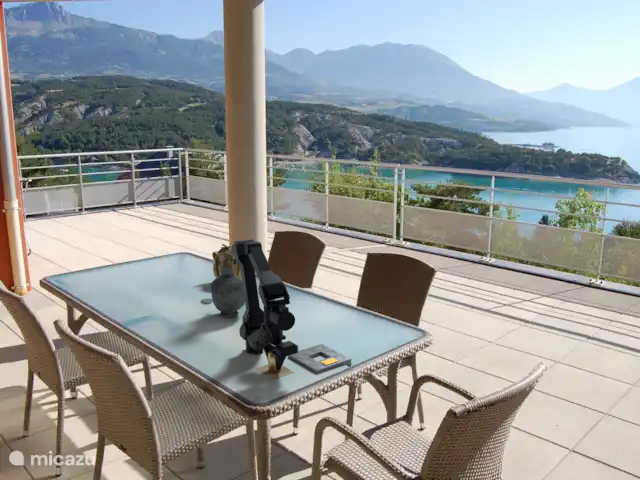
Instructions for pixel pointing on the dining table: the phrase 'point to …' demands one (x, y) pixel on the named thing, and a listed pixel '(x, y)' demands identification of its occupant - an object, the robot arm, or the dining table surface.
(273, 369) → the brass peg
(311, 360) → the hole plate
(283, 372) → the pad
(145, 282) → the dining table surface
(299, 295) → the dining table surface
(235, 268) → the dried plant tuft
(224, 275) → the grey stone vase
